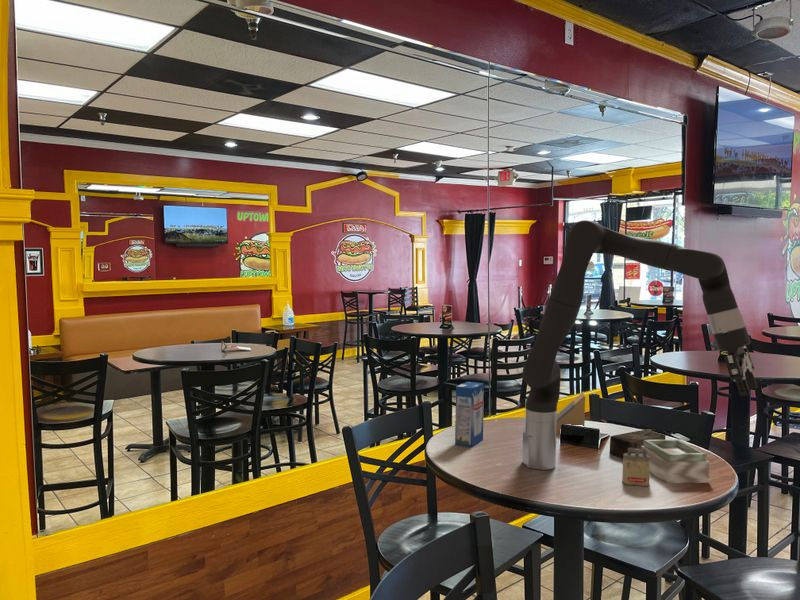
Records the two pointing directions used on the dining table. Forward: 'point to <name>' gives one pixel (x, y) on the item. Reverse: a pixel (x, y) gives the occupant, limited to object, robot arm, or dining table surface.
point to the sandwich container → (572, 413)
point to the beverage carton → (632, 441)
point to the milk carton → (469, 414)
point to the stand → (677, 461)
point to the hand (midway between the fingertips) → (749, 392)
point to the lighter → (636, 467)
